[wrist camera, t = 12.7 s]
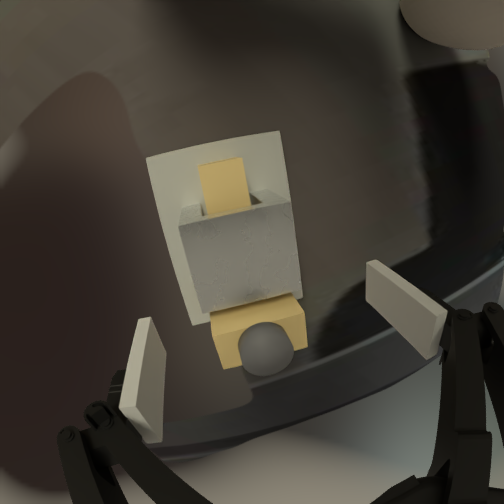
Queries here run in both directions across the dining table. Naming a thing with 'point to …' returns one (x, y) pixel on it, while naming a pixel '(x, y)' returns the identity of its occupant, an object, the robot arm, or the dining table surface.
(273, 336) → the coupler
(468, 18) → the vase
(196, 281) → the grey slotted block
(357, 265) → the dining table surface
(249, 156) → the mat
